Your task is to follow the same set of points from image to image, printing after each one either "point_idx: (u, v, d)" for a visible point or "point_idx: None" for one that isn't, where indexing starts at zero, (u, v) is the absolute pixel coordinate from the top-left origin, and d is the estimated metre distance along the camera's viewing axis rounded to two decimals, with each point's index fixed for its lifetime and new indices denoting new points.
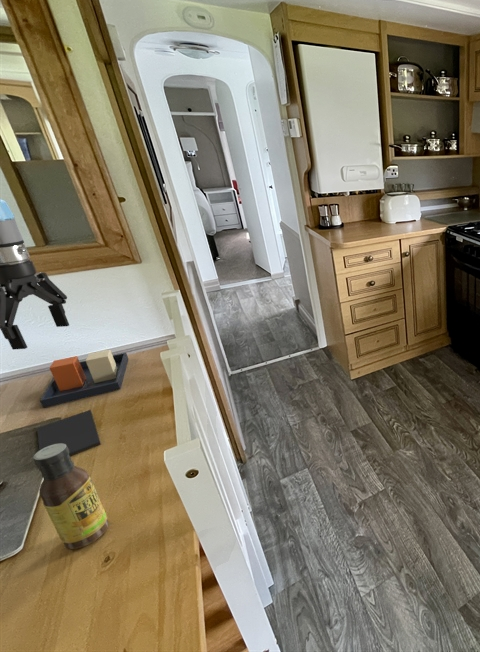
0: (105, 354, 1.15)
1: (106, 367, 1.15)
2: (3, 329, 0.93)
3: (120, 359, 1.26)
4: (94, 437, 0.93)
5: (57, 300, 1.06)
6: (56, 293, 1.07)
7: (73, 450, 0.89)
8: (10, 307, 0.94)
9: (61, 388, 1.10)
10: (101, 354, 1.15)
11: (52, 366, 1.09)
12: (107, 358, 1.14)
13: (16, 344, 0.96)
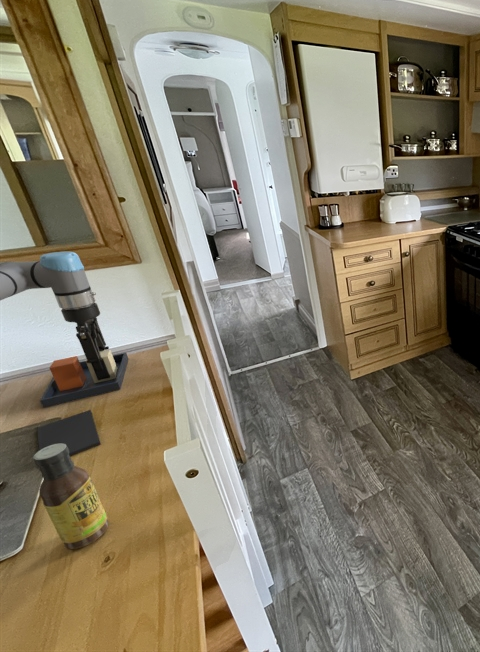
0: (105, 354, 1.15)
1: None
2: (95, 363, 1.12)
3: (120, 359, 1.26)
4: (94, 437, 0.93)
5: (103, 345, 1.17)
6: None
7: (73, 450, 0.89)
8: (94, 345, 1.11)
9: (61, 388, 1.10)
10: (101, 354, 1.15)
11: (52, 366, 1.09)
12: (107, 358, 1.14)
13: (102, 375, 1.14)
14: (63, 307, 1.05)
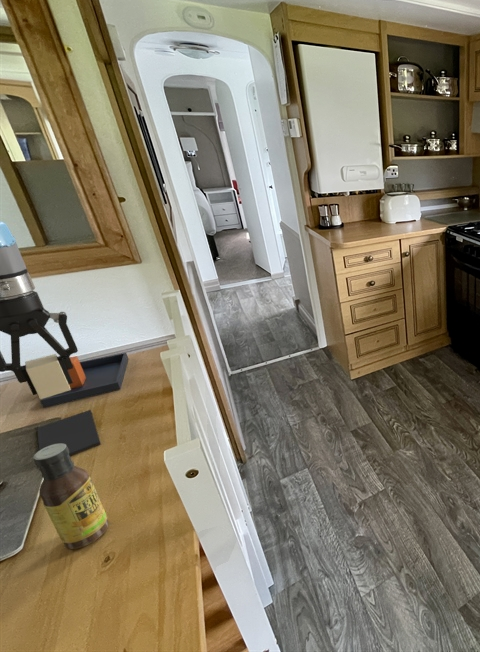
0: (38, 364, 0.85)
1: (32, 381, 0.85)
2: None
3: (120, 359, 1.26)
4: (94, 437, 0.93)
5: (59, 352, 0.87)
6: None
7: (73, 450, 0.89)
8: (11, 349, 0.82)
9: None
10: (39, 362, 0.86)
11: None
12: (27, 372, 0.83)
13: None
14: None
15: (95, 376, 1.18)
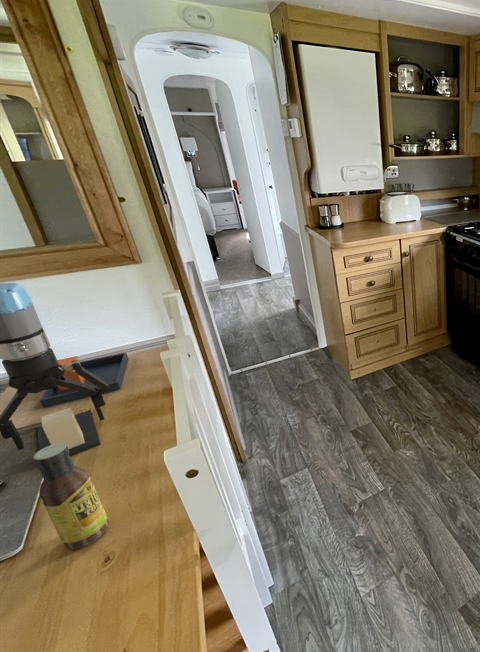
0: (54, 421, 0.87)
1: None
2: None
3: (120, 359, 1.26)
4: (94, 437, 0.93)
5: (91, 393, 0.91)
6: None
7: (73, 450, 0.89)
8: (9, 405, 0.82)
9: (61, 388, 1.10)
10: (55, 418, 0.87)
11: None
12: (43, 429, 0.85)
13: None
14: None
15: None
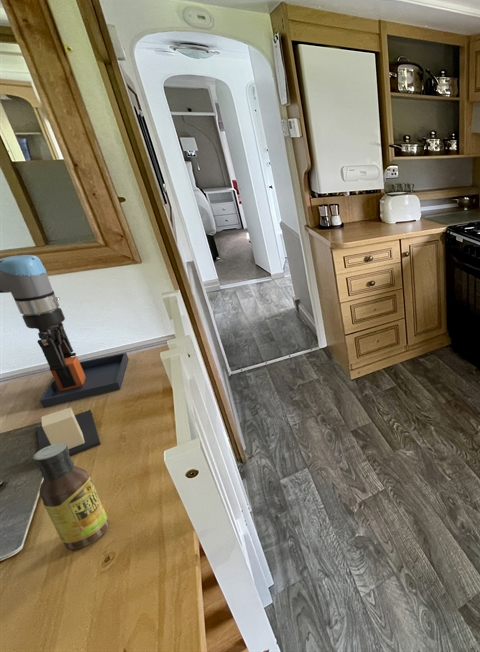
0: (54, 421, 0.87)
1: None
2: (60, 370, 1.08)
3: (120, 359, 1.26)
4: (94, 437, 0.93)
5: (69, 352, 1.13)
6: (66, 344, 1.14)
7: (73, 450, 0.89)
8: (58, 352, 1.07)
9: (61, 388, 1.10)
10: (55, 418, 0.87)
11: None
12: (43, 429, 0.85)
13: (67, 382, 1.10)
14: (24, 313, 1.01)
15: (95, 376, 1.18)
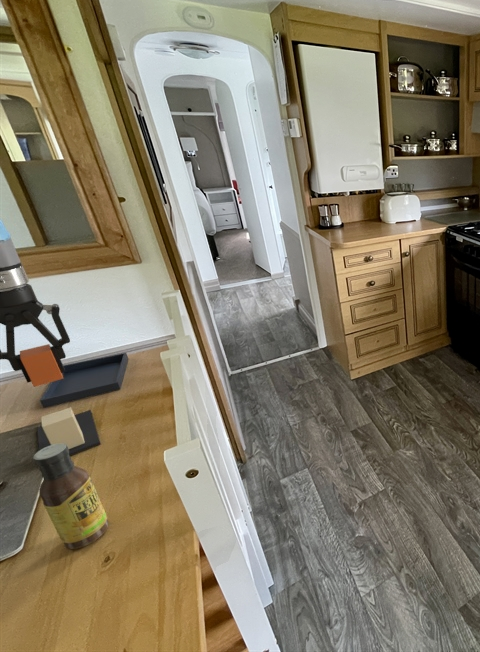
0: (54, 421, 0.87)
1: None
2: (9, 359, 0.88)
3: (120, 359, 1.26)
4: (94, 437, 0.93)
5: (52, 342, 0.92)
6: (59, 332, 0.93)
7: (73, 450, 0.89)
8: (6, 339, 0.86)
9: None
10: (55, 418, 0.87)
11: (25, 350, 0.91)
12: (43, 429, 0.85)
13: (24, 375, 0.91)
14: None
15: (95, 376, 1.18)
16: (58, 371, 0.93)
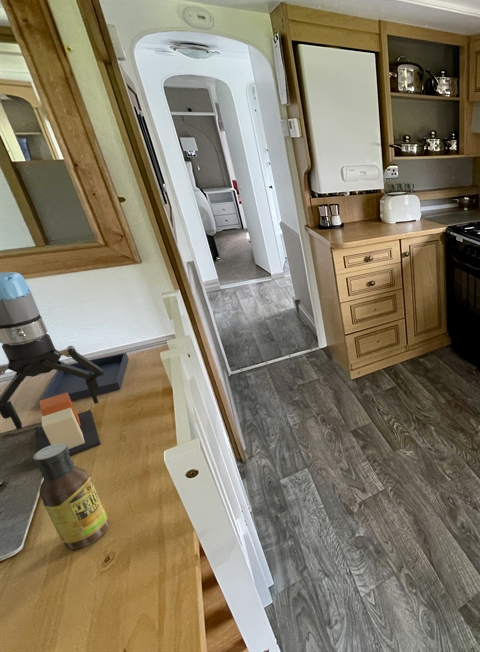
0: (54, 421, 0.87)
1: None
2: None
3: (120, 359, 1.26)
4: (94, 437, 0.93)
5: (86, 377, 0.96)
6: None
7: (73, 450, 0.89)
8: (9, 387, 0.87)
9: None
10: (55, 418, 0.87)
11: (44, 400, 0.94)
12: (43, 429, 0.85)
13: None
14: None
15: None
16: (76, 419, 0.96)
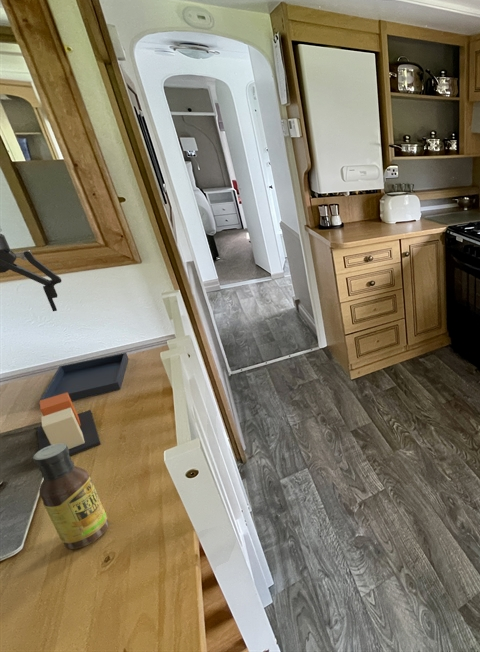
0: (54, 421, 0.87)
1: None
2: None
3: (120, 359, 1.26)
4: (94, 437, 0.93)
5: (43, 282, 0.98)
6: None
7: (73, 450, 0.89)
8: None
9: None
10: (55, 418, 0.87)
11: (44, 400, 0.94)
12: (43, 429, 0.85)
13: None
14: None
15: (95, 376, 1.18)
16: (76, 419, 0.96)
